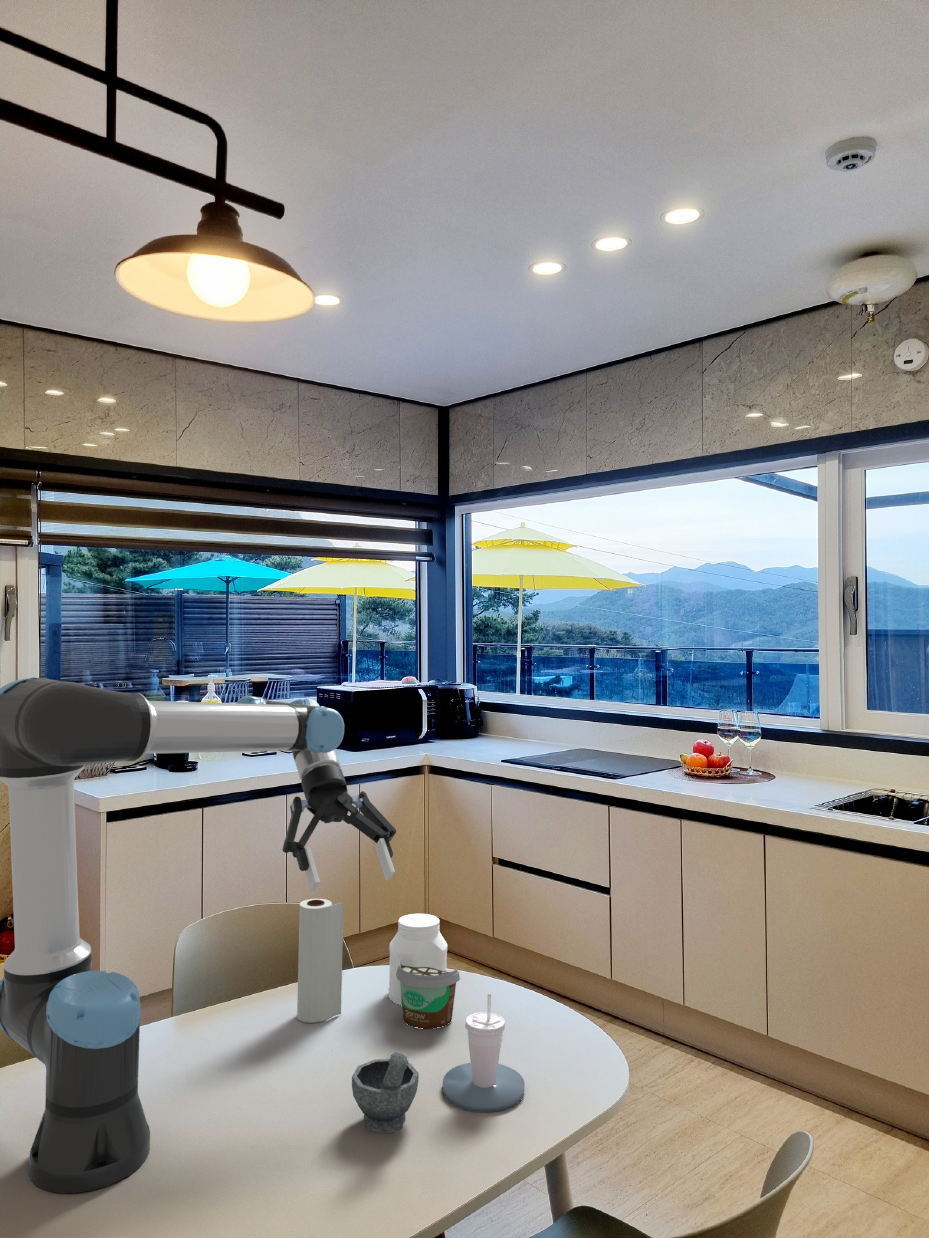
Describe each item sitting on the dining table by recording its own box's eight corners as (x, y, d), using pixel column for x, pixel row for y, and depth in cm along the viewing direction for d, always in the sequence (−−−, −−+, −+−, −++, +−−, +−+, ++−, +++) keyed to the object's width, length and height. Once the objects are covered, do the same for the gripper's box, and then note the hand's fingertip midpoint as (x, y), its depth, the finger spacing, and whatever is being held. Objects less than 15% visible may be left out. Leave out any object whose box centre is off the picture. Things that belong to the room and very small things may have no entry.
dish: (518, 1117, 131) (518, 1108, 131) (434, 1106, 134) (434, 1098, 134) (529, 1074, 144) (529, 1066, 144) (452, 1064, 146) (452, 1057, 146)
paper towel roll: (290, 1019, 162) (292, 904, 162) (309, 1007, 167) (311, 895, 168) (322, 1027, 159) (325, 910, 159) (341, 1014, 164) (343, 901, 165)
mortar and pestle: (343, 1111, 132) (345, 1031, 132) (401, 1097, 136) (403, 1020, 136) (369, 1152, 121) (370, 1065, 122) (430, 1136, 126) (432, 1052, 126)
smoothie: (504, 1092, 136) (506, 1002, 136) (463, 1091, 136) (465, 1000, 136) (503, 1071, 142) (505, 985, 142) (464, 1070, 142) (466, 984, 142)
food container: (385, 1026, 160) (386, 971, 160) (397, 1012, 166) (398, 959, 166) (448, 1036, 156) (450, 980, 157) (459, 1022, 162) (460, 968, 162)
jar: (435, 982, 180) (436, 909, 181) (453, 1000, 172) (455, 924, 172) (382, 990, 176) (383, 915, 176) (398, 1009, 167) (399, 931, 167)
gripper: (376, 782, 166) (411, 883, 153) (248, 792, 152) (275, 903, 140) (390, 759, 161) (427, 860, 149) (259, 766, 148) (288, 878, 135)
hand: (354, 881), depth 144 cm, fingers open, 13 cm apart
